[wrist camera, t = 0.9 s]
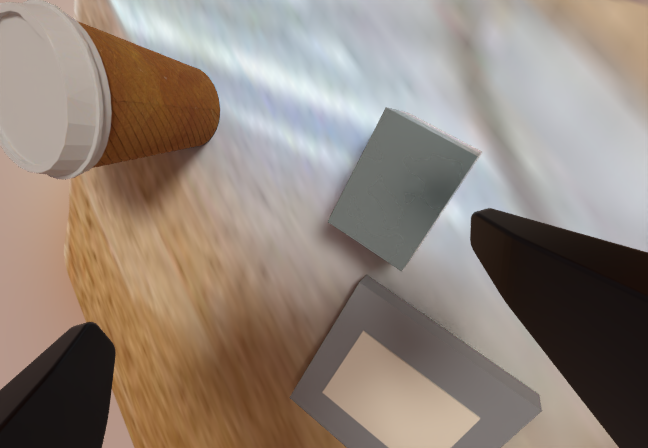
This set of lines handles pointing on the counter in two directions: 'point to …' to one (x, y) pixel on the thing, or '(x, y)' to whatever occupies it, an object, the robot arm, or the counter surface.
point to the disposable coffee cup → (92, 95)
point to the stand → (408, 382)
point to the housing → (401, 185)
